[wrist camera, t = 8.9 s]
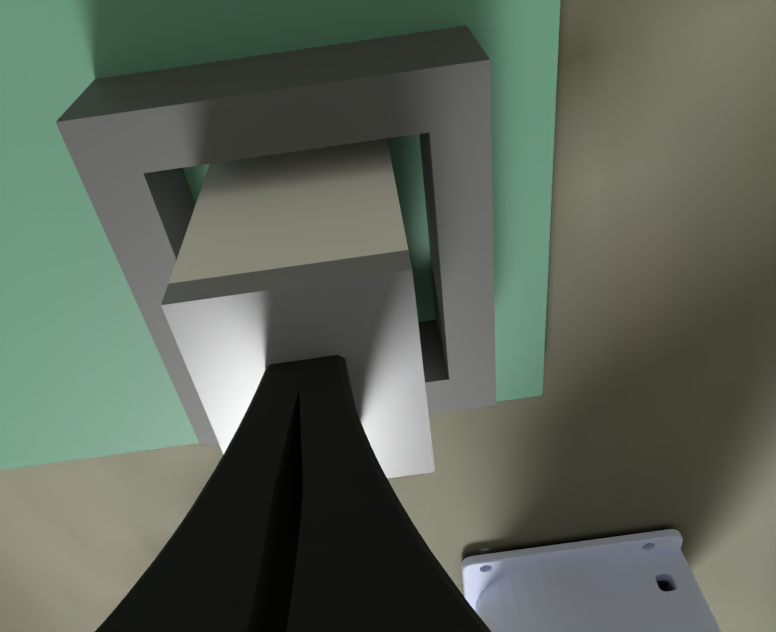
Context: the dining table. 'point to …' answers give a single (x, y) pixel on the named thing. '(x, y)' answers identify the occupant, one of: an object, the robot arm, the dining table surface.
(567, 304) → the dining table surface
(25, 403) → the board
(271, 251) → the plug
